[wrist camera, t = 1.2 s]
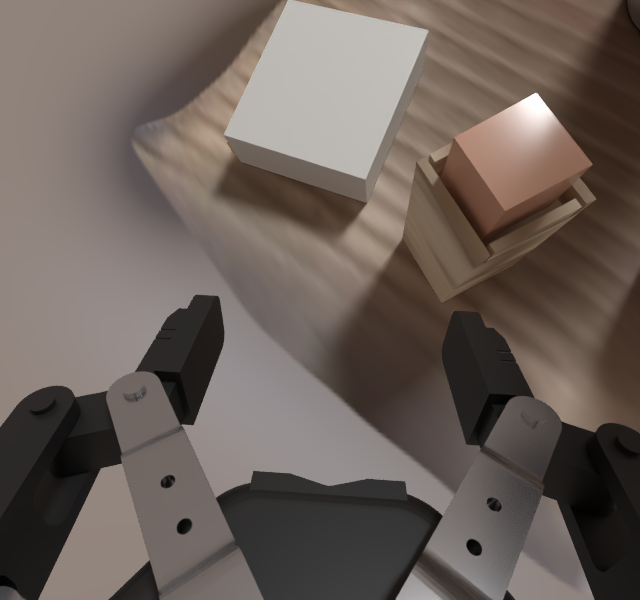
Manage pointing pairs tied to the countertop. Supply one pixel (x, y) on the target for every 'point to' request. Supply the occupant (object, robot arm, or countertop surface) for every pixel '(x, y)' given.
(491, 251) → the box
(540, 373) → the countertop surface
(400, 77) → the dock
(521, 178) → the block
